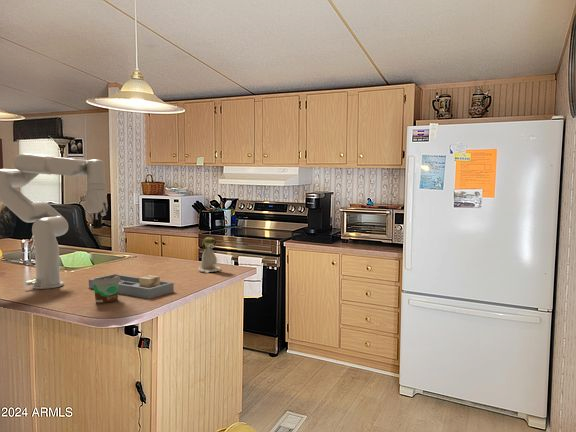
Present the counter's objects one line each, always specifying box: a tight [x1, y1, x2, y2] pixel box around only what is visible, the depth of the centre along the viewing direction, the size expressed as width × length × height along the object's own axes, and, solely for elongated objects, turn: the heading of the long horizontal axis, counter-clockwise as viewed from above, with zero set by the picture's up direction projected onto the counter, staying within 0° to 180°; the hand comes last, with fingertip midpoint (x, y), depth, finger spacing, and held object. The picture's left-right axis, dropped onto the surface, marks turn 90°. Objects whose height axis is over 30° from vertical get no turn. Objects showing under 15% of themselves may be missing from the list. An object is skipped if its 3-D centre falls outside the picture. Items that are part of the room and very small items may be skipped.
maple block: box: [139, 274, 161, 288], centre depth 193 cm, size 6×6×5 cm
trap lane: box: [88, 273, 175, 300], centre depth 199 cm, size 14×38×4 cm, turn 61°
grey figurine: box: [198, 236, 222, 274], centre depth 242 cm, size 12×13×18 cm
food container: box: [92, 273, 121, 305], centre depth 179 cm, size 12×6×10 cm, turn 158°
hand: (97, 228), depth 201 cm, fingers closed
